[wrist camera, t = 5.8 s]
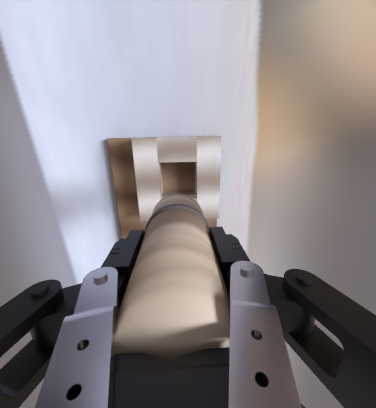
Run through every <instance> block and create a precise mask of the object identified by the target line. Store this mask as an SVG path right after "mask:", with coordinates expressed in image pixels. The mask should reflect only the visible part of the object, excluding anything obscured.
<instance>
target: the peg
mask: <svg viewBox="0 0 376 408" xmlns="http://www.w3.org/2000/svg"><path fill="white" fill-rule="evenodd" d="M144 234H145V236H144V239H143V242H142V245H141V248H140V251H139V253H138V256H137V259H136V262H135V265H134V268H133V271H132V274H131V277H130V280H129V283H128V285H127V288H126V291H125V294H124V297H123V300H122V303H121V306H120V309H119V312H118V316H117V323H116V330H115V342H116V344H115V354H125V353H145V354H150V355H154V356H159V357H163V358H167V359H176V358H179V357H182V356H185V355H188V354H190V353H193V352H196V351H199V350H202V349H208V348H225V347H229V330H230V299H229V296H228V292H227V289H226V286H225V283H224V279H223V276H222V273H221V270H220V267H219V263H218V260H217V257H216V254H215V251H214V247H213V244H212V241H211V238H210V234H209V226H208V223H207V221H206V219H205V217H204V215H203V212H202V209H201V207H200V205H199V204H198V203H197V202H196V201H195V200H194V199H192V198H191V197H189V196H186V195H183V194H172V195H169V196H167V197H165V198H163V199H161V200H160V201H159V202H158V203H157V204H156V206H155V208H154V210H153V213H152V216H151V217H150V219H149V220H148V223H147V225H146V228H145V232H144Z"/></svg>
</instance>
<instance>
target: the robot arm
mask: <svg viewBox="0 0 376 408" xmlns="http://www.w3.org/2000/svg"><path fill="white" fill-rule="evenodd" d="M209 234H210V238H211V241H212V244H213V247H214V251H215V254H216V257H217V260H218V263H219V267H220V270H221V273H222V276H223V279H224V283H225V286H226V289H227V292H228V296H229V299H230V330H229V347H225V348H208V349H202V350H199V351H196V352H193V353H190V354H188V355H185V356H182V357H179V358H176V359H167V358H163V357H159V356H154V355H150V354H145V353H125V354H115V344H116V342H115V330H116V323H117V316H118V312H119V309H120V306H121V303H122V300H123V297H124V294H125V291H126V288H127V285H128V283H129V280H130V277H131V274H132V271H133V268H134V265H135V262H136V259H137V256H138V253H139V251H140V248H141V245H142V242H143V239H144V236H145V234H144V230H130V232H129V234H128V236H127V238H125V239H120V240H119V241H118V242H116V243H115V244H114V246H113V248H112V250H111V251H110V253H109V255H108V256H107V258H106V260H105V261H104V263H103V265H102V266H101V268H98V269H95V270H93V271H91V272H90V273H88V274H87V275H86V276H85V277H84V279H83V282H82V283H81V284H78V285H74V286H70V287H66V288H62V286H61V283H60V282H59V281H57V280H46V281H42V282H39V283H37V284H34V285H32V286H30V287H29V288H27V289H26V290H24V291H23V292H22V293H20V294H19V295H17V296H16V297H14V298H13V299H11V300H10V301H9V302H7V303H6V304H4V305H3V306H1V307H0V357H1V356H2V355H3V354H4V353H5V352H7V351H8V350H9V349H10V348H11V347H12V346H13V345H14V344H16V343H17V342H18V341H19V340H20V339H21V338H22V337H23V336H24V335H26V334H27V333H28V332H29V331H30V333H31V336H32V338H33V339H32V340H31V341H30V342H29V343H28V344H27V345H26V346H25V347H24V348H22V349H21V350H20V351H19V352H18V353H17V354H16V355H15V356H14V357H13V358H12V359H11V360H10V361H9V362H8V363H7V364H6V365H4V366H3V368H2V369H0V408H19V407H20V406H21V404H22V403H23V402H24V401H25V400H26V398H27V397H28V396H29V395H30V394H31V393H32V391H33V390H34V389H35V388H36V387H37V385H38V384H39V383H40V382H41V381H42V380H43V378H44V377H45V378H44V381H43V384H42V387H41V390H40V393H39V396H38V400H37V403H36V406H35V408H305V407H304V406H303V405H302V404H301V403H300V400H299V396H298V392H297V388H296V384H295V380H294V376H293V372H292V368H291V364H290V360H289V355H288V352H287V348H286V343H285V341H286V342H287V343H288V344H289V345H290V347H291V348H292V349H293V350H294V351H295V352H296V353H297V354H298V356H299V357H300V358H301V359H302V360H303V361H304V363H305V364H306V365H307V366H308V367H309V368H310V369H311V370H312V371H313V373H314V374H315V375H316V376H317V377H318V378H319V380H320V381H321V382H322V383H323V384H324V385H325V386H326V387H327V389H328V390H329V391H330V392H331V393H332V394H333V395H334V397H335V398H336V399H337V400H338V401H339V402H340V403H341V405H342V406H343V407H344V408H376V315H374V314H373V313H371V312H370V311H368V310H367V309H365V308H364V307H362V306H361V305H359V304H358V303H356V302H355V301H353V300H352V299H350V298H348V297H347V296H345V295H344V294H343V293H341V292H339V291H338V290H336V289H335V288H333V287H332V286H330V285H329V284H327V283H326V282H324V281H323V280H321V279H320V278H318V277H317V276H315V275H314V274H312V273H310V272H307V271H304V270H300V269H290V270H287V271H286V272H285V274H284V278H282V277H276V276H271V275H267V274H264V273H263V270H262V269H261V267H260V266H258V265H257V264H255V263H252V262H250V260H249V258H248V257H247V255H246V253H245V251H244V249H243V248H242V246H241V245H240V242H239V241H238V239H237V238H236V237H234V236H233V235H232V234H228V235H226V234H225V232H224V230H223V228H222V227H210V229H209ZM315 319H317V320H318V321H319V322H320V323H321V324H322V325H323V326H325V327H326V328H327V329H328V330H329V331H330V332H331V333H333V334H334V335H335V336H336V337H337V338H338V339H339V340H340V342H341V343H342V345H343V348H344V350H343V349H342V348H341V347H339V346H338V345H337V344H336V343H335V342H334V341H333V340H332V339H331V338H329V337H328V336H327V335H326V334H325V333H324V332H323V331H322V330H320V329H319V328H318V327H317V326H316V325H315V324H314V323H315Z"/></svg>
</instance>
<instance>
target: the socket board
mask: <svg viewBox="0 0 376 408" xmlns="http://www.w3.org/2000/svg"><path fill="white" fill-rule="evenodd" d="M107 140H108V147H109V154H110V161H111V167H112V174H113V181H114V188H115V194H116V201H117V208H118V215H119V222H120V228H121V235H122V239H125V238H127V236H128V234H129V232H130V230H144V232H145V228H146V225H147V223H148V220H149V219H150V217H151V216H152V213H153V210H154V208H155V206H156V204H157V203H158V202H159V201H160V200H161V199H163V198H165V197H167V196H169V195H172V194H183V195H186V196H189V197H191V198H192V199H194V200H195V201H196V202H197V203H198V204H199V205H200V207H201V209H202V212H203V215H204V217H205V219H206V221H207V223H208V226H209V229H210V227H216V225H217V218H219V188H220V157H221V136H195V137H150V138H107Z"/></svg>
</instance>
